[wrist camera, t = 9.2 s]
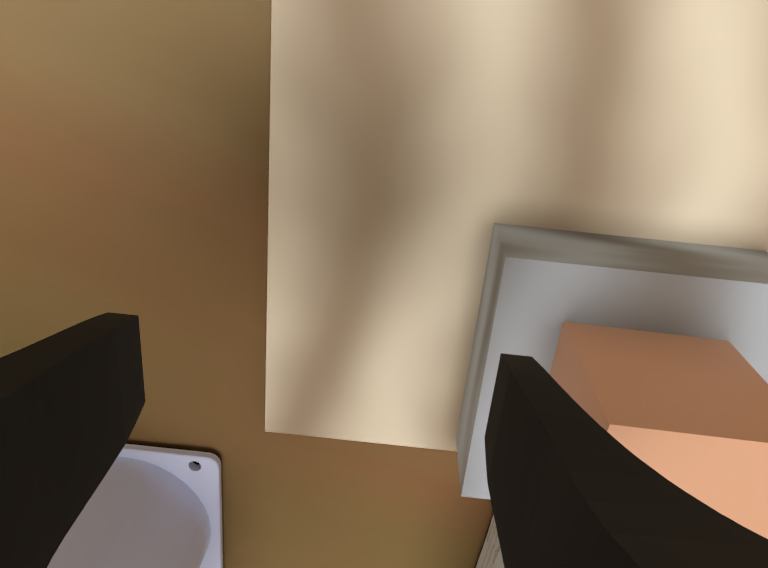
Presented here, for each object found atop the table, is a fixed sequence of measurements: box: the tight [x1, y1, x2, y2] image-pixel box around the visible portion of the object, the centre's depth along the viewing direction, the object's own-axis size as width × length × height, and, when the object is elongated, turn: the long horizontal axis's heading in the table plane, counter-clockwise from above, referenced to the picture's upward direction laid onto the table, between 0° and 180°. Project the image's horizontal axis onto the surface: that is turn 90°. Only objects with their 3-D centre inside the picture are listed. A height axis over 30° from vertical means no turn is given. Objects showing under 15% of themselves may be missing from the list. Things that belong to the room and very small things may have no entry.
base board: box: [265, 0, 768, 499], centre depth 20 cm, size 18×18×4 cm
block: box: [550, 321, 768, 539], centre depth 18 cm, size 5×5×5 cm
